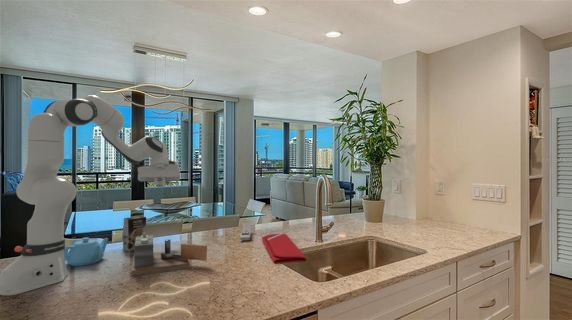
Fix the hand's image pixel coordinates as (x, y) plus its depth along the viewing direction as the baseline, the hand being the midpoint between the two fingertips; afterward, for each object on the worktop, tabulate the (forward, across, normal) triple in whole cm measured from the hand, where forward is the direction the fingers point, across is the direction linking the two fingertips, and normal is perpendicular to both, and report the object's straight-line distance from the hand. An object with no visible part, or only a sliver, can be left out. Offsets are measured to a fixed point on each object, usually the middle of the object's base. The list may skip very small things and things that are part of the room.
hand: (159, 186), depth 149 cm
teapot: (+25, -30, +23) cm, 45 cm away
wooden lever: (+37, +10, +7) cm, 39 cm away
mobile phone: (+15, +49, +32) cm, 60 cm away
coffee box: (+15, -11, +32) cm, 37 cm away
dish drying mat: (+38, +58, +10) cm, 70 cm away
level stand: (+36, 0, +11) cm, 37 cm away
